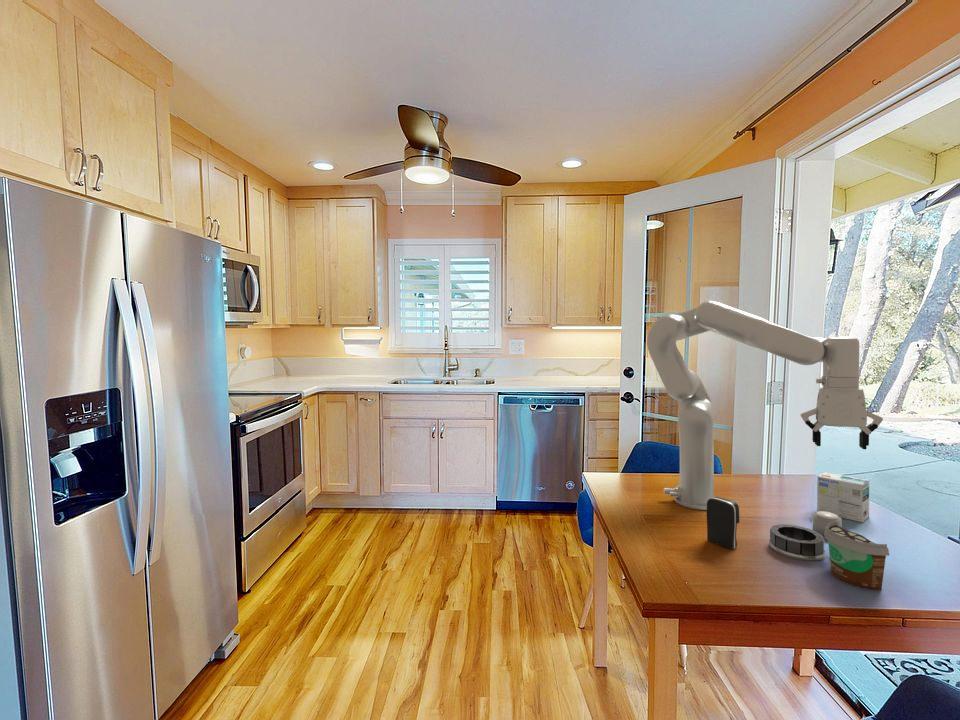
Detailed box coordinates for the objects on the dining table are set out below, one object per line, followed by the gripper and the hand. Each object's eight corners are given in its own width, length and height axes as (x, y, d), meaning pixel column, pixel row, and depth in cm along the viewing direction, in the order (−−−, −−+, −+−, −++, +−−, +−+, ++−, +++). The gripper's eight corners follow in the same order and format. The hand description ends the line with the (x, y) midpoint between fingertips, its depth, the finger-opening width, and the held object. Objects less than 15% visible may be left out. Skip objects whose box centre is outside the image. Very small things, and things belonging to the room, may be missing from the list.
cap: (820, 537, 114) (820, 518, 114) (807, 527, 120) (808, 509, 120) (846, 539, 113) (847, 519, 113) (833, 529, 119) (833, 510, 119)
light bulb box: (869, 517, 126) (870, 479, 125) (863, 523, 122) (864, 484, 121) (823, 506, 134) (824, 471, 134) (816, 512, 130) (816, 475, 130)
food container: (809, 565, 101) (809, 522, 100) (834, 563, 101) (835, 520, 101) (860, 596, 89) (861, 547, 88) (888, 594, 89) (889, 545, 89)
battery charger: (741, 546, 110) (741, 501, 110) (733, 551, 108) (733, 504, 108) (713, 536, 116) (713, 493, 116) (705, 540, 114) (705, 496, 114)
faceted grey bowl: (781, 559, 104) (781, 542, 104) (761, 538, 115) (761, 522, 114) (835, 562, 102) (835, 545, 101) (809, 540, 112) (810, 525, 112)
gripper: (803, 383, 119) (803, 447, 120) (888, 385, 111) (887, 453, 112) (798, 381, 126) (798, 441, 127) (877, 382, 118) (876, 446, 119)
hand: (839, 446), depth 119 cm, fingers open, 9 cm apart
